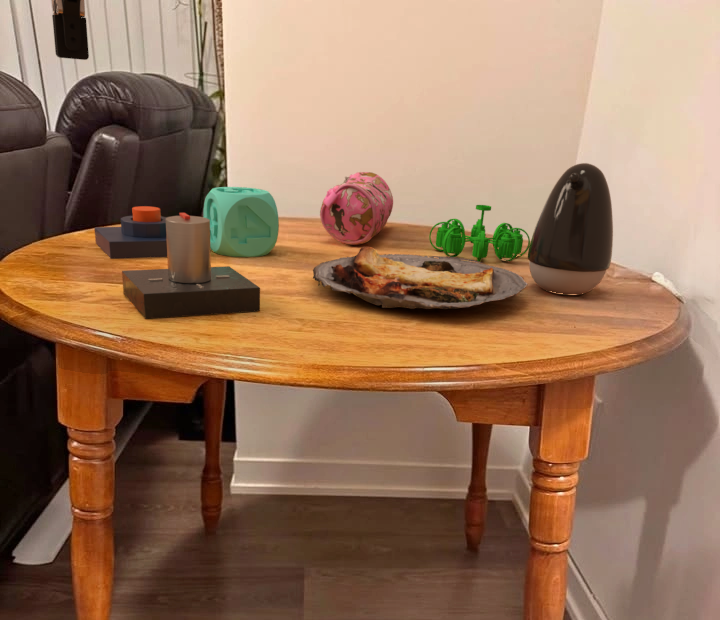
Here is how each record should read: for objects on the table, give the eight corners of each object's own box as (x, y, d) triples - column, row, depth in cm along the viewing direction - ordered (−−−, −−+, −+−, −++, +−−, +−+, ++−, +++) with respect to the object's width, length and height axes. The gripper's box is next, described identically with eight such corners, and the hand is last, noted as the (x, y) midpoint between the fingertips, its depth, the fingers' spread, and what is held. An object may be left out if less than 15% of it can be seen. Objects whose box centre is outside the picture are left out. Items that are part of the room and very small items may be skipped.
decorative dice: (278, 256, 106) (279, 195, 103) (223, 259, 103) (222, 195, 99) (257, 245, 113) (257, 186, 109) (203, 246, 109) (202, 186, 105)
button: (136, 224, 101) (135, 210, 100) (130, 219, 104) (129, 206, 103) (164, 224, 103) (163, 210, 102) (157, 219, 105) (156, 206, 105)
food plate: (277, 296, 88) (277, 264, 86) (361, 262, 107) (362, 235, 105) (491, 335, 79) (496, 301, 78) (540, 290, 98) (545, 262, 97)
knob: (216, 282, 81) (215, 219, 78) (174, 284, 79) (171, 220, 76) (204, 272, 84) (202, 212, 82) (163, 274, 83) (160, 212, 80)
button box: (110, 259, 98) (108, 226, 97) (95, 243, 106) (93, 213, 104) (203, 256, 104) (202, 225, 102) (182, 241, 111) (181, 212, 109)
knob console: (145, 319, 77) (143, 292, 75) (123, 293, 84) (121, 269, 83) (260, 311, 82) (260, 285, 80) (229, 288, 89) (229, 264, 88)
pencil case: (339, 222, 134) (342, 167, 130) (392, 227, 134) (396, 172, 130) (316, 245, 116) (318, 181, 111) (378, 250, 115) (382, 187, 111)
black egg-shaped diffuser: (511, 291, 97) (532, 160, 90) (535, 277, 105) (555, 156, 98) (593, 305, 93) (621, 170, 86) (611, 289, 101) (637, 165, 94)
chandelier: (522, 248, 123) (530, 203, 120) (532, 268, 110) (540, 218, 107) (428, 240, 124) (433, 195, 121) (426, 259, 111) (432, 209, 108)
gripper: (110, -160, 72) (122, 62, 81) (81, -131, 84) (95, 61, 92) (23, -178, 69) (45, 55, 77) (6, -145, 81) (27, 55, 89)
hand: (72, 58), depth 85 cm, fingers closed
